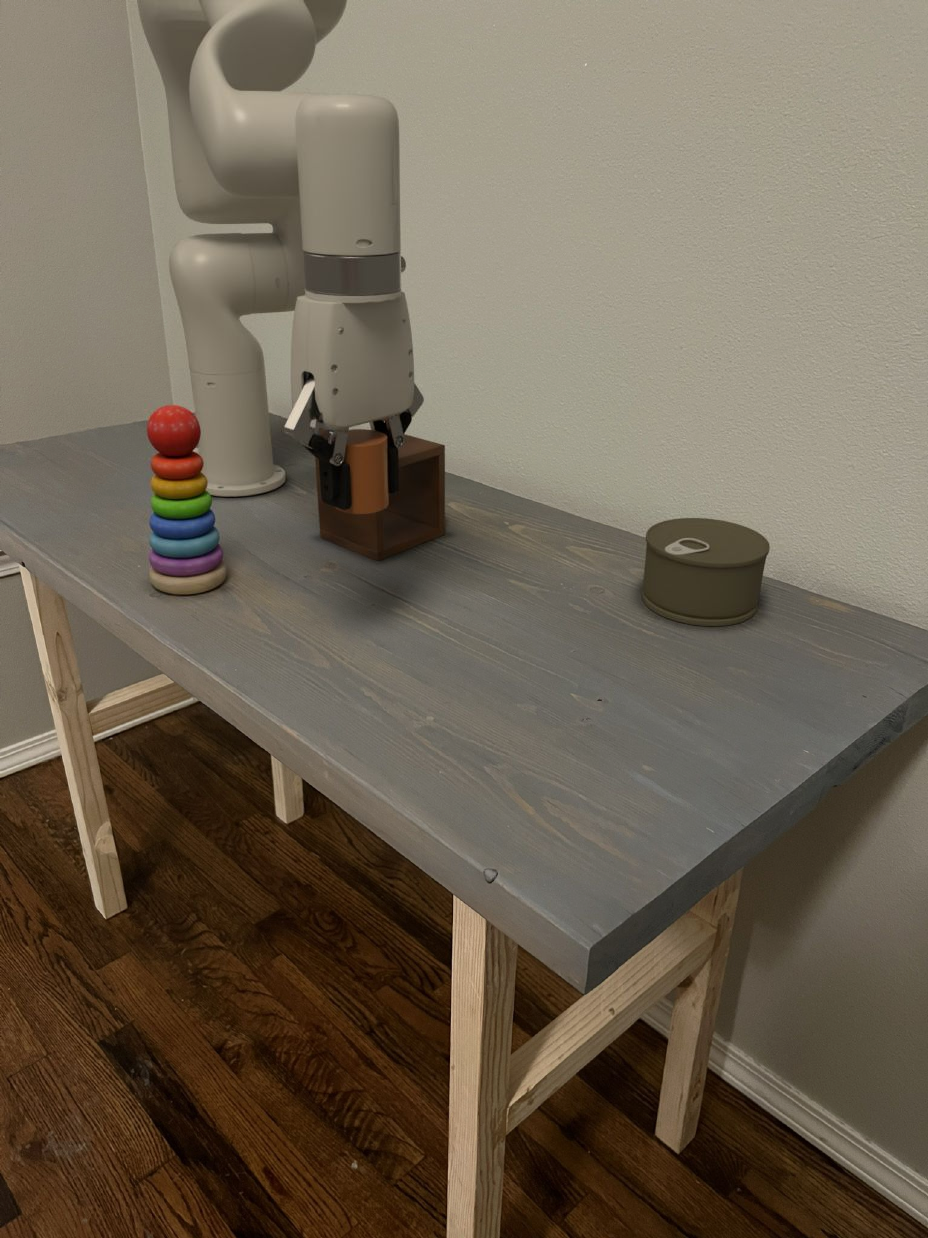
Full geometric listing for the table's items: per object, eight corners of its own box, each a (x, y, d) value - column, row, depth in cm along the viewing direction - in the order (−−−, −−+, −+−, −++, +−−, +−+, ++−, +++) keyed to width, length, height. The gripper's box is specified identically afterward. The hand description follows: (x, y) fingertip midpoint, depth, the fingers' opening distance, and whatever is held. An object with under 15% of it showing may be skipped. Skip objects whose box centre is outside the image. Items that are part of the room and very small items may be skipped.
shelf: (319, 537, 110) (314, 447, 105) (387, 514, 117) (384, 428, 112) (378, 561, 104) (374, 466, 99) (445, 534, 111) (445, 444, 106)
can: (783, 607, 94) (795, 544, 91) (705, 639, 88) (714, 573, 85) (692, 568, 103) (700, 509, 100) (615, 594, 96) (621, 533, 93)
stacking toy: (162, 604, 93) (135, 420, 85) (141, 576, 99) (113, 401, 91) (238, 587, 97) (219, 409, 89) (213, 561, 103) (193, 392, 95)
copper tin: (322, 504, 81) (318, 436, 78) (362, 490, 84) (360, 425, 81) (359, 518, 78) (356, 449, 75) (400, 504, 81) (399, 437, 78)
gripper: (397, 262, 80) (400, 465, 88) (233, 281, 69) (254, 511, 77) (461, 271, 76) (458, 484, 84) (297, 293, 64) (312, 536, 73)
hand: (360, 495), depth 80 cm, fingers closed on copper tin, 4 cm apart
